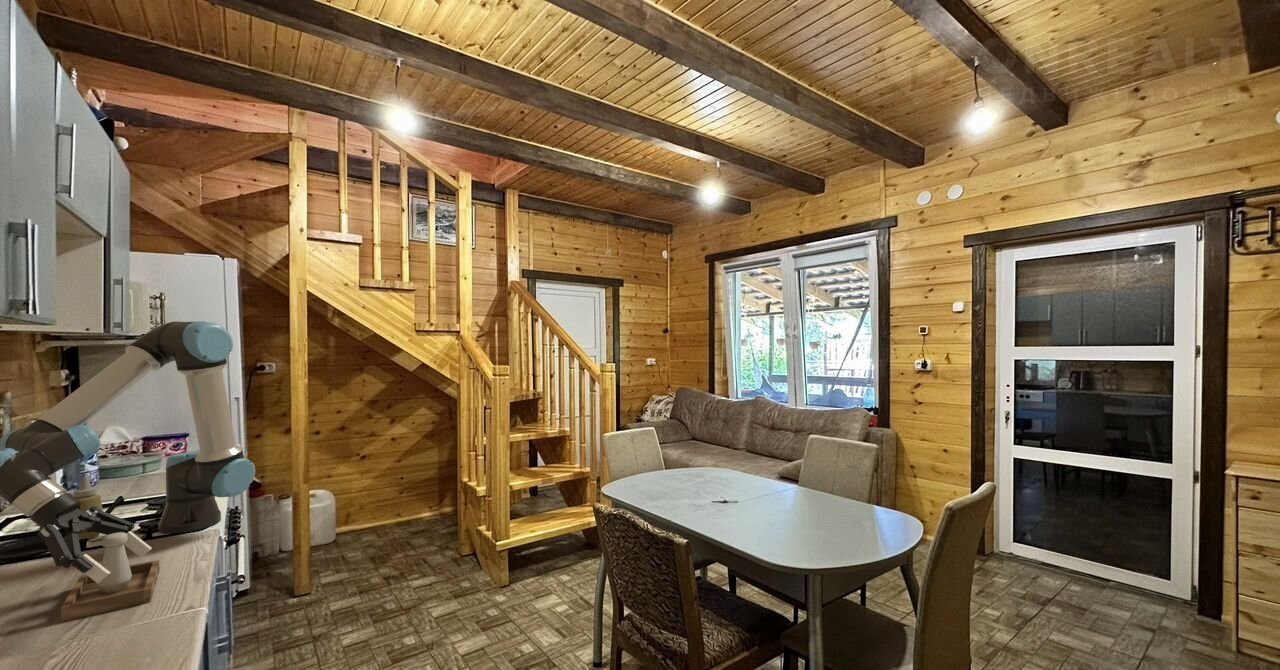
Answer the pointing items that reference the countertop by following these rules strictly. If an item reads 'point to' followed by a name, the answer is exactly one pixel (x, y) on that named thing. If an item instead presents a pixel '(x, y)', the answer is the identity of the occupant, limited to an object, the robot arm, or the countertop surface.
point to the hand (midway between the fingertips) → (126, 564)
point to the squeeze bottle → (87, 502)
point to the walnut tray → (93, 601)
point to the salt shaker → (115, 564)
